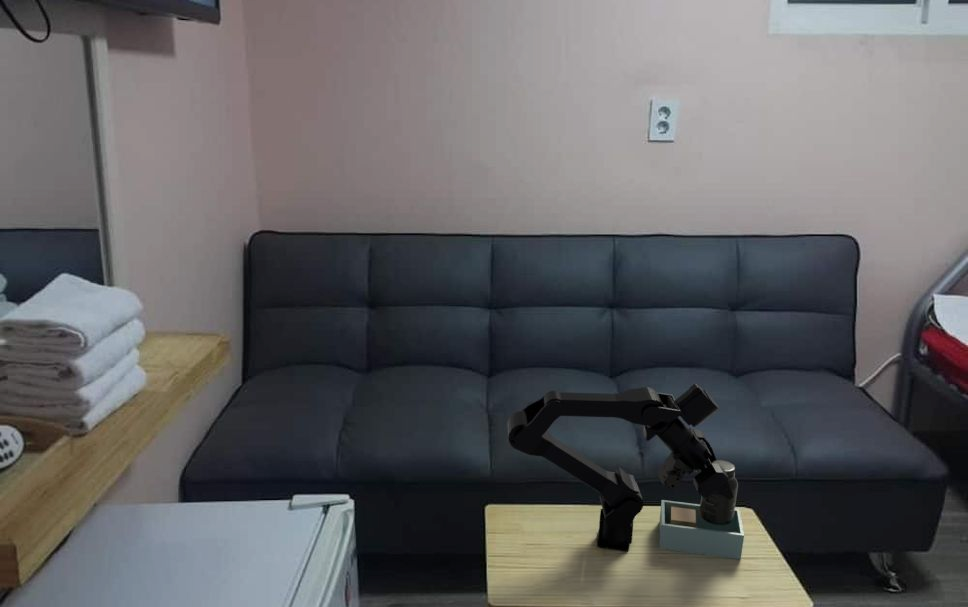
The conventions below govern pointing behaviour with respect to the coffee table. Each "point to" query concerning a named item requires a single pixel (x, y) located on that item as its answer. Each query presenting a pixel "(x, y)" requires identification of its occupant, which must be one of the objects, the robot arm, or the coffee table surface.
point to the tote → (700, 534)
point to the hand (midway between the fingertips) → (726, 488)
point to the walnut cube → (683, 517)
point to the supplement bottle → (720, 500)
